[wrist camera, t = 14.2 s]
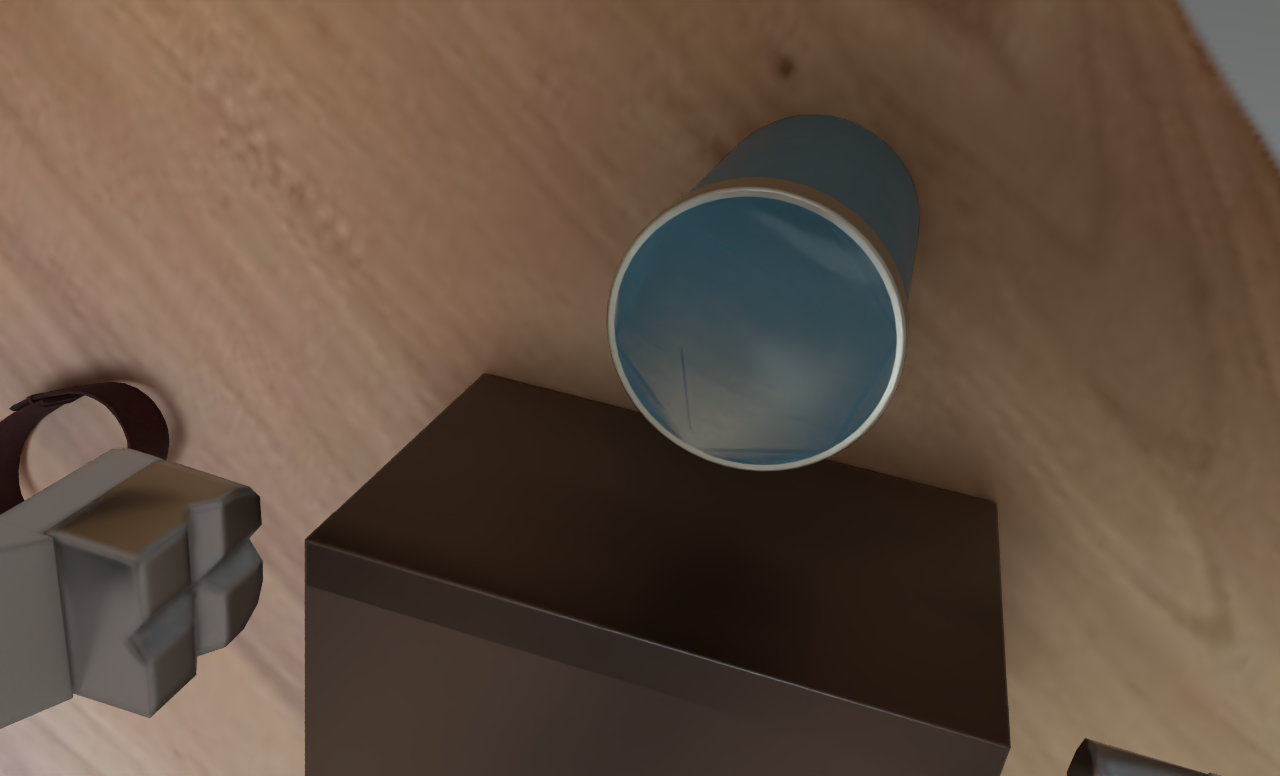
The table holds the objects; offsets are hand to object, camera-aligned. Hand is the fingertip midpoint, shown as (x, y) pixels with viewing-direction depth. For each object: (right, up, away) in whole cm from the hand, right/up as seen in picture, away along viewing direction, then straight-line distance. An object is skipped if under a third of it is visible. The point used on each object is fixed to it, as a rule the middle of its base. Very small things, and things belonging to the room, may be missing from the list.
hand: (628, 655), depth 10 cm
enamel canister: (+4, +7, +15) cm, 17 cm away
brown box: (+2, -4, +20) cm, 21 cm away
